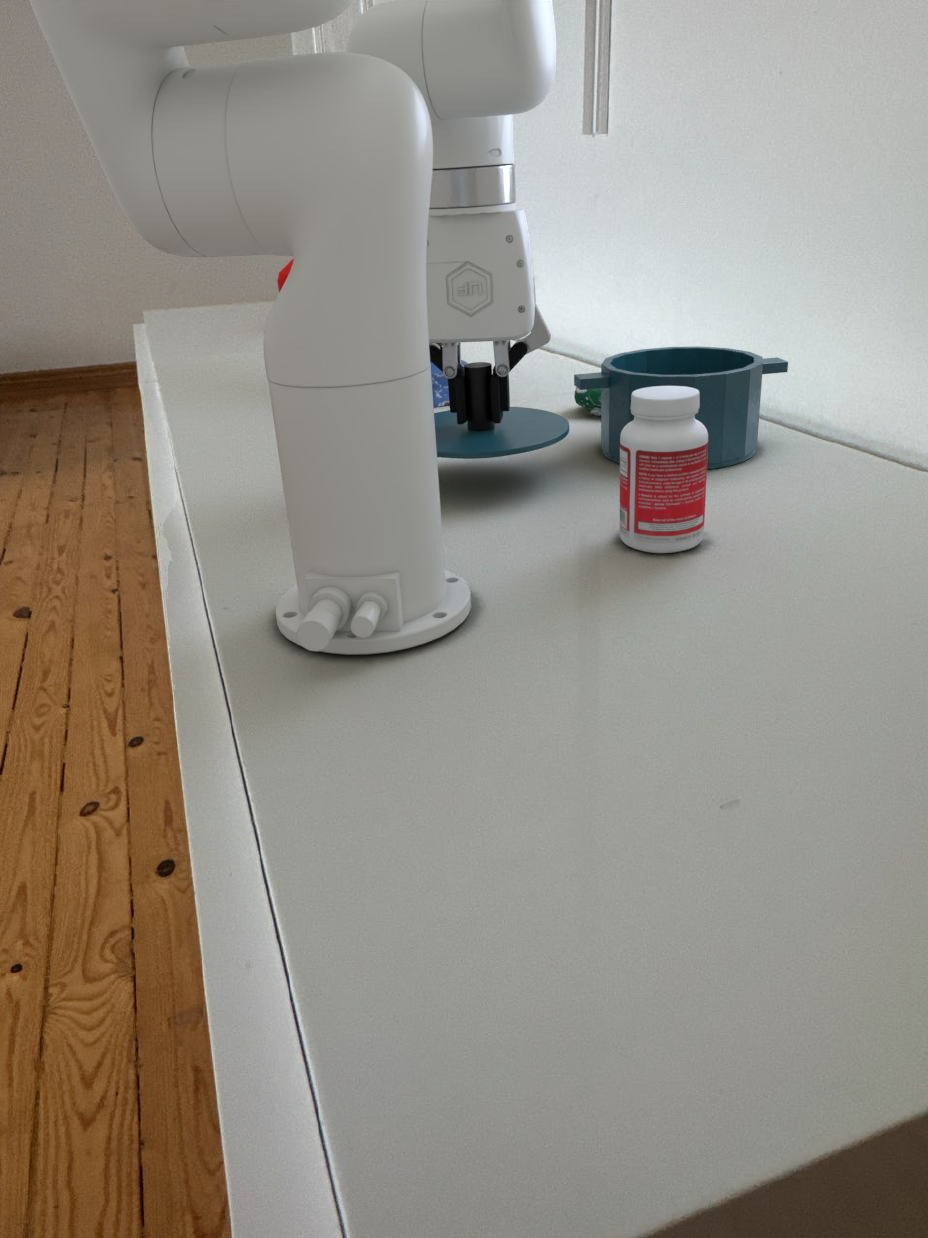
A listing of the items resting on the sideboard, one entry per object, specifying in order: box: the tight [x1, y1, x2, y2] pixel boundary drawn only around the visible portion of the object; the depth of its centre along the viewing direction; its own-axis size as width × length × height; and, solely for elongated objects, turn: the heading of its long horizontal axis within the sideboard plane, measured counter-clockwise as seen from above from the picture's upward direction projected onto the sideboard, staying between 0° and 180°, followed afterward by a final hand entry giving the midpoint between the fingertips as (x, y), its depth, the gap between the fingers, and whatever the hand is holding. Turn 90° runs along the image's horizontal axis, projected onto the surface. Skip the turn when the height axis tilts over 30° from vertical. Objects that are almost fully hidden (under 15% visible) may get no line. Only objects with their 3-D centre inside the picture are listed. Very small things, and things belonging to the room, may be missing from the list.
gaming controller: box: [573, 386, 601, 416], centre depth 107 cm, size 9×4×6 cm
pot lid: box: [434, 361, 570, 460], centre depth 85 cm, size 16×16×7 cm
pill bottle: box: [619, 386, 708, 554], centre depth 70 cm, size 6×6×11 cm
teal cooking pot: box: [573, 346, 789, 470], centre depth 92 cm, size 15×20×8 cm
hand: (480, 418), depth 85 cm, fingers closed on pot lid, 2 cm apart
